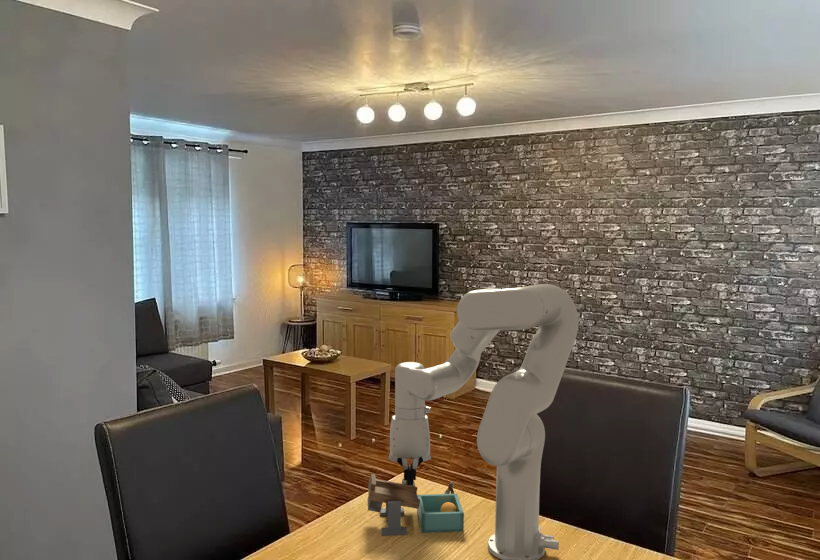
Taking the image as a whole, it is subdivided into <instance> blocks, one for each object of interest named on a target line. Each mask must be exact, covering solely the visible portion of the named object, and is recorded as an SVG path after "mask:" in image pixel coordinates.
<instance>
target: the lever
mask: <svg viewBox="0 0 820 560" xmlns="http://www.w3.org/2000/svg"><path fill="white" fill-rule="evenodd" d="M367 487H368V489H367V490H368V493H367V494H368V496H367V511H371V512H375V513H380V512H381V508H383V503H385V504H386V503H388V501H401V507H406V508H412V509H416V510H417V509H418V508H419V504H420V499H418V496H417V495H418V486H416V483H415V480H413V485H411V484H409V485H407V481H406V480H404V478H402V480H401V483H399V482H394V481H389V480H384V479H378V478H376V473H371V474H370V478H369V481H368V486H367Z"/></svg>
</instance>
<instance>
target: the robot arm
mask: <svg viewBox="0 0 820 560" xmlns="http://www.w3.org/2000/svg"><path fill="white" fill-rule="evenodd" d="M456 308H457V309H456V315H457V319H458V322H457V324H456V325H455V326H454V328H453V329H452V330H451V332H450V335H449V336H450V341H451V343H452V344H453V346H454V348H455V349H454V351H453V353H452V354H451V355H450V356H449V357H448V358H447V360H446V361H445V362H444V363H440V364H438V365H434V366H431V367H426V368H425V366H424V365H423V364H422V363H421V362H417V361H416V362H415V361H406V362H405V361H404V362H401V363H398V364H397V365H395V366H396V367H395V370H394V372H395V373H394V379H395V380H394V381H395V382H394V385H395V386H394V387H395V388H394V391H395V392H394V403H395V404H394V408H395V409H394V415H392V416H391V420H390V428H389V429H390V431H389V455H388V460H389V462H393V463H398V465H400V466H401V467H402V468H403V479H404V480H406V481H407V485H409V484H411V485H413V480H414V481H416V480H417V469H418V467H419V466H420V465H421V464H423V462H427V461H430V460H432V456H431V434H430V432H431V431H430V423H429V417H428V415H427V414H428V413H431V412H432V410H431V409H432V407H431V406H427V405H426V401H427V402H428V401H434V400H436V399H439V398H442V397H445V396H446V395H450V394H453V393H456V392H457V391H458V390H460V389H461V388H462V387H464V385H465V384H466V383H467V382H468V381H469V379H470V378H471V377H472V376H473V374H474V373H475V372H476V370H477V369H478V366H479V364H480V361H481V355H482V353H483V352H484V350H485V349H486V348H487V346H489V344H490V343H491V341H492V340H494V338H495V337H496V336H497V334H498V333H499V332H501V331H516V330H517V331H519V330H527V329H532V328H536V327H538V328H537V330H536V333H535V334H534V336H533V337H532V339H531V340H530V342H529V345H528V347H527V349H526V353H525V356H524V359H523V362H522V363H521V366H520V367H519V369H518V370H515V372H513V373H512V372H511V373H509V374H507V375H505V376H503V377H502V378H500V379H499V380H498V381H497V383H495V385H494V386H493V388H492V391H490V394H489V397H488V400H487V402H486V403H487V404H486V407H485V409H484V412H483V415H482V417H481V421H480V424H479V426H478V431H477V435H476V445H477V449H478V452H479V455H480V456H481V458H482V459H483V461H485V462H486V463H487V464H489V465H491V466H495V467H496V479H495V481H496V483H495V525H494V526H495V528H494V529H495V530H494V533H493V534H491V536H490V537H489V538H488V540H487V549H488V551H489V552H490V553H491V554H492V555H493V556H494V557H496V558H497V559H500V560H540V559H542V558H543V556H545V554H546V549H550V550H556V551H559V547H560V542H559V540H557V539H554V538H555V536H554V535H551V534H544V533H543V532H541V526H539V523H540V522H539V519H540V518H539V517H540V490H541V489H540V485H541V468H542V465H541V464H542V460H543V459H542V457H543V452H544V447H545V441H546V431H545V430H546V429H545V426H544V423H543V422H544V421H542V419H541V417H540V416H539V415H538V414H539V413H541V412H543V411H544V410H546V409H548V408H549V407H550V405H552V403H553V402H554V399H555V396H556V394H557V391H558V388H559V386H560V382H561V379H562V377H563V375H564V372H565V370H566V365H567V362H568V360H569V357H570V355H571V352H572V349H573V347H574V344H575V341H576V338H577V334H578V331H579V313H578V310H577V307H576V305H575V303H574V300H573V299H572V298H571V296H570V294H569V293H568V292H567V291H565V290H564V289H563V288H561V287H560V286H557V285H554V284H551V283H541V284H534V285H533V284H532V285H528V286H520V287H515V288H514V287H513V288H502V289H501V288H498V287H487V288H481V289H475V290H470V291H468V292H466V293H465V294H464V295H463V296H462V297H461V298H460V300H459V302H458V304H457V307H456ZM411 458H412V459H411ZM408 459H411V463H410V465H409V463H408Z"/></svg>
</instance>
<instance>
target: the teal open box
mask: <svg viewBox="0 0 820 560" xmlns="http://www.w3.org/2000/svg"><path fill="white" fill-rule="evenodd" d="M417 496H418V499H420V504H419V508H418V509H416V512H417V513H416V514H417V518H418V523H419V528H420V532H421V534H426V533H451V532H452V533H454V532H456V533H457V532H459V533H460V532H464V530H465V529H464V528H465V527H464V523H465V521H464V519H465V513H464V509H463V507H462V504H461V501H460V499H459V496H458V493H454V494H451V493H450V494H444V493H440V494H439V493H438V494H437V493H434V494H431V493H430V494H428V493H427V494H417ZM446 502H451V503H453V504H454V505H455V506H456V508H457V512H441V507H442V505H443V504H444V503H446Z"/></svg>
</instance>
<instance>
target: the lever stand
mask: <svg viewBox="0 0 820 560" xmlns="http://www.w3.org/2000/svg"><path fill="white" fill-rule="evenodd" d="M404 509H405V508H404V507H402V506H401V501H388V503H385V508H384V507H381V512H379V516H380V517H383V516H385V517H387V527H381V528H380V531H381V532H380V533H381V536H382V537H390V536H392V537H393V536H408V529H407V526H402V524H401V523H402V519H401V518H402V516H405V510H404Z"/></svg>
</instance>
